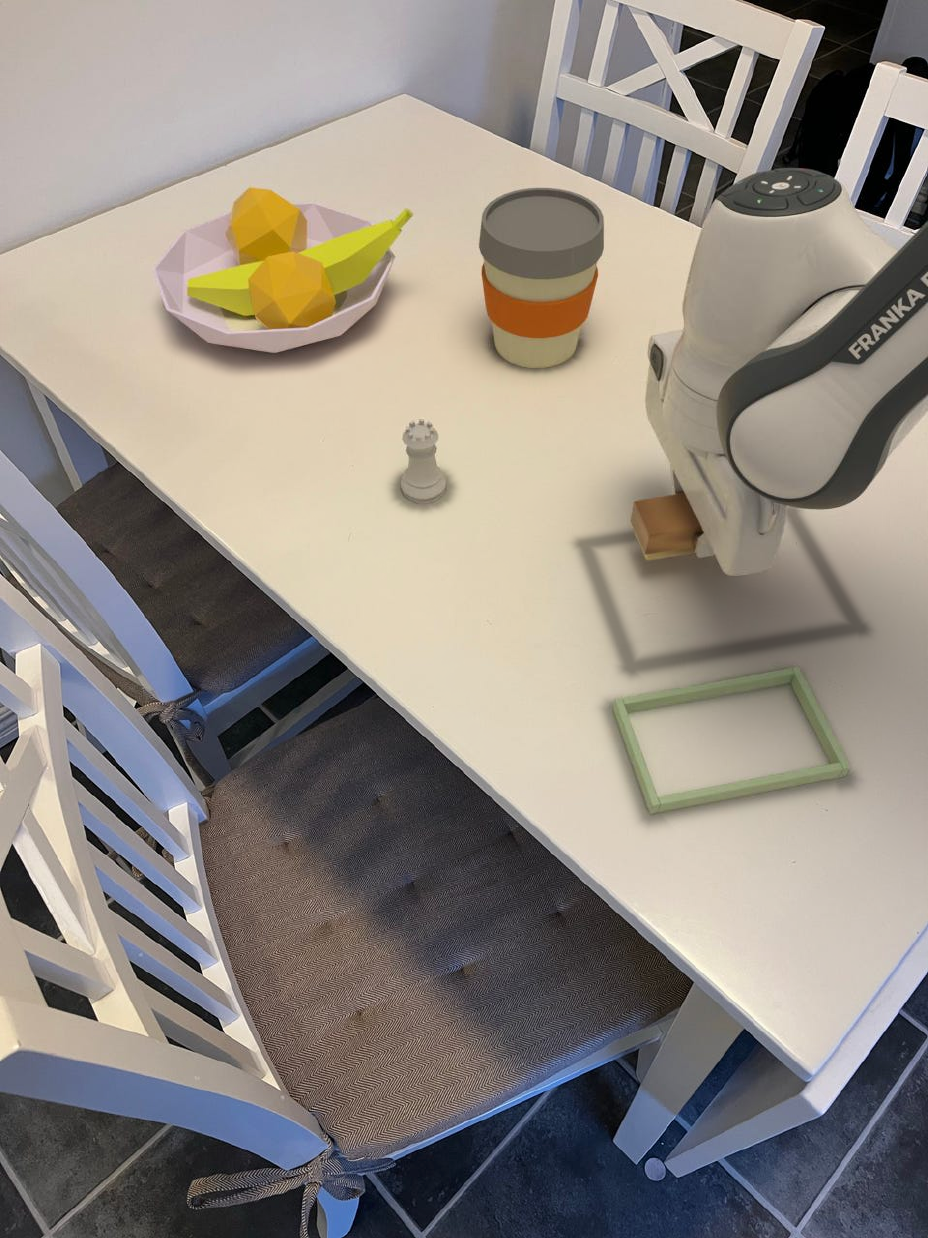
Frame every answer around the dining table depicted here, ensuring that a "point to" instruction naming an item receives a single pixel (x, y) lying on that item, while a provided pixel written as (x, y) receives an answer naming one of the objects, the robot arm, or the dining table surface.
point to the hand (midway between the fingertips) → (692, 527)
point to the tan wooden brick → (664, 526)
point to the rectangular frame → (742, 788)
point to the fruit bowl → (277, 271)
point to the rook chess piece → (422, 464)
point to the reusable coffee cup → (539, 272)
